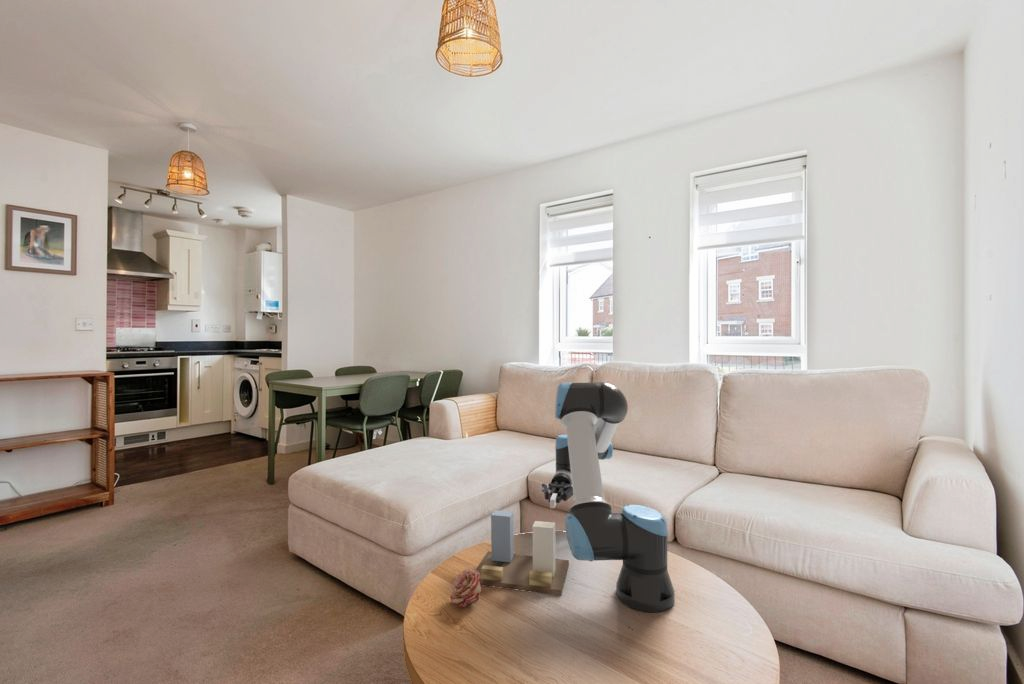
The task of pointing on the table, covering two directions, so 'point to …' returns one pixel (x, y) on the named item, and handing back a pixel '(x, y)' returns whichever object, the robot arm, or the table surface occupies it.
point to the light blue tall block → (502, 536)
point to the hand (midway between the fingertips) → (552, 503)
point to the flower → (466, 587)
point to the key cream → (544, 547)
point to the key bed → (522, 575)
